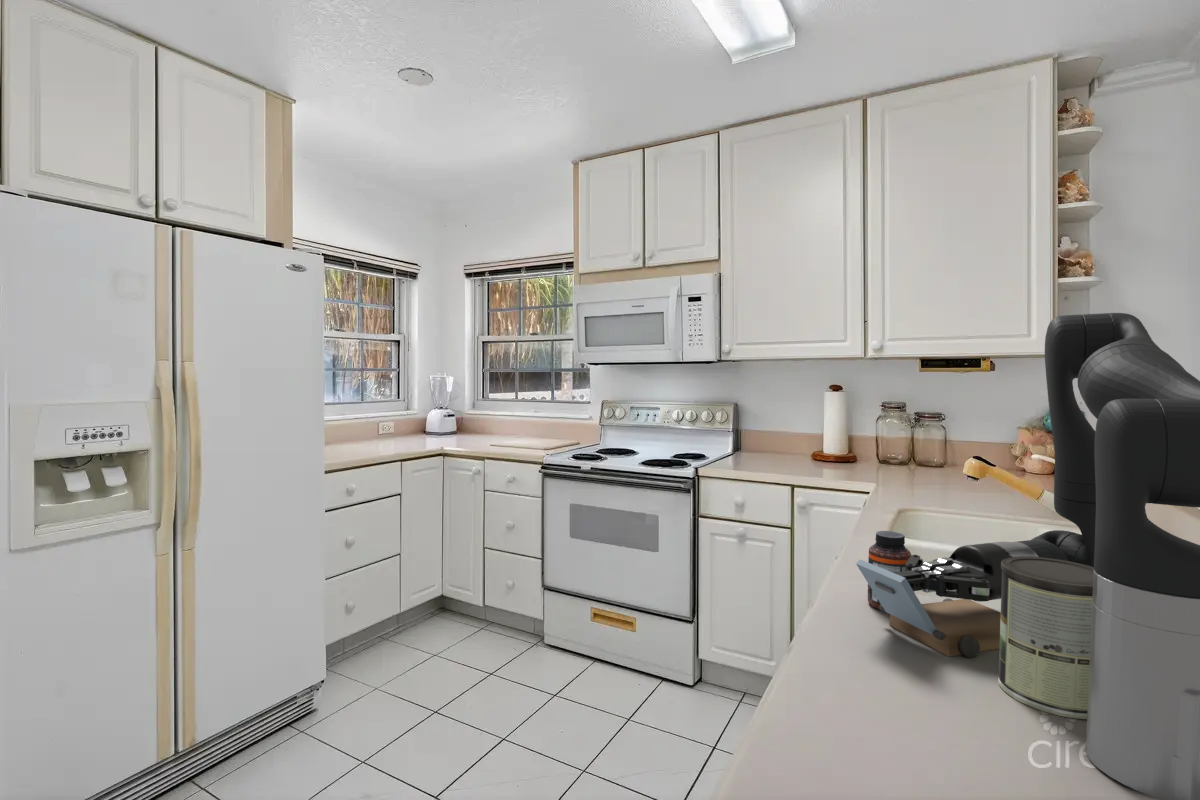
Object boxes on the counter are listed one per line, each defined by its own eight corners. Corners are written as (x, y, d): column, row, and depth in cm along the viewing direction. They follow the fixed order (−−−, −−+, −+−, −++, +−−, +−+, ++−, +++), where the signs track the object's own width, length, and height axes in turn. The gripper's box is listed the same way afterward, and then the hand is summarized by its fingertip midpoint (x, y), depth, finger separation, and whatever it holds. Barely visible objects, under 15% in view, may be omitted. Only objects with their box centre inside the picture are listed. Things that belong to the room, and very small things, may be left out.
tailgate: (937, 630, 78) (905, 577, 76) (930, 637, 77) (898, 584, 76) (890, 607, 85) (860, 559, 83) (883, 613, 85) (853, 565, 83)
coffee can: (978, 669, 73) (983, 554, 73) (1070, 675, 72) (1075, 557, 72) (1030, 717, 63) (1036, 582, 62) (1138, 724, 62) (1144, 587, 61)
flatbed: (1039, 647, 80) (1040, 624, 79) (948, 661, 75) (949, 637, 75) (959, 612, 91) (960, 592, 91) (876, 623, 87) (876, 602, 87)
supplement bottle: (873, 596, 98) (875, 526, 97) (914, 605, 94) (916, 533, 93) (862, 607, 93) (864, 533, 92) (904, 617, 89) (907, 540, 89)
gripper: (956, 532, 91) (860, 542, 87) (1042, 557, 79) (935, 570, 74) (955, 581, 92) (859, 594, 87) (1041, 614, 79) (934, 631, 74)
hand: (894, 583), depth 80 cm, fingers closed
